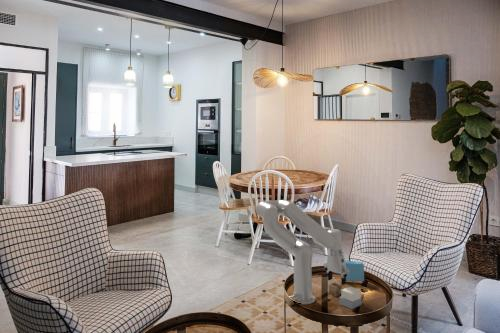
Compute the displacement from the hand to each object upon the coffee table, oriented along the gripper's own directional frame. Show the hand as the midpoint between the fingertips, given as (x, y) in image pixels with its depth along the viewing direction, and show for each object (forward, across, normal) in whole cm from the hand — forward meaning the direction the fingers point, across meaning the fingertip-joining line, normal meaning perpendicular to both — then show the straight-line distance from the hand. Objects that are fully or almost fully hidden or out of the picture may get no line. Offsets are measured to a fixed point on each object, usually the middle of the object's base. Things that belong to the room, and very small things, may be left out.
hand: (337, 281), depth 207 cm
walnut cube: (+6, 0, +1) cm, 7 cm away
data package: (+7, +4, -20) cm, 22 cm away
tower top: (+3, -14, +6) cm, 16 cm away
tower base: (+7, -14, +6) cm, 16 cm away
